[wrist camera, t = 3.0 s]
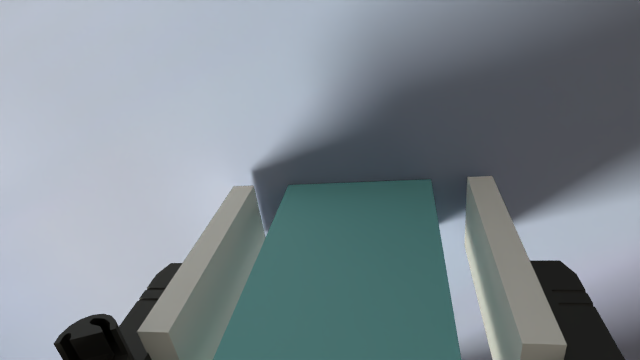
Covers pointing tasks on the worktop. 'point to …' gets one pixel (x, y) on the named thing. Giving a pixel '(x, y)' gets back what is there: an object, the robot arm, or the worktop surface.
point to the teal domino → (347, 279)
